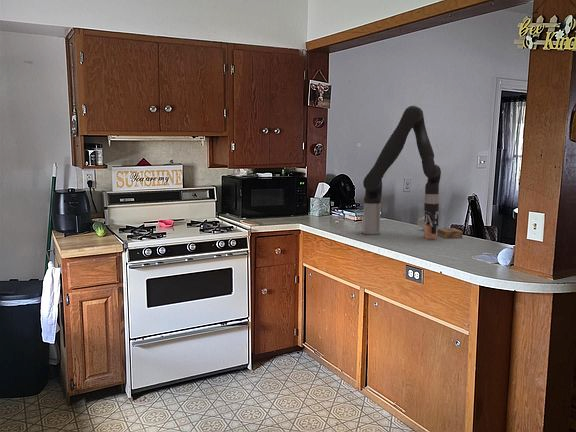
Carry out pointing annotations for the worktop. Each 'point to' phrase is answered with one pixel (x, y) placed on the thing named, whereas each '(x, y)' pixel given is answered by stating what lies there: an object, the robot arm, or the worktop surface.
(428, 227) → the terracotta block
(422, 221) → the cup
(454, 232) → the walnut block
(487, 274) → the worktop surface
